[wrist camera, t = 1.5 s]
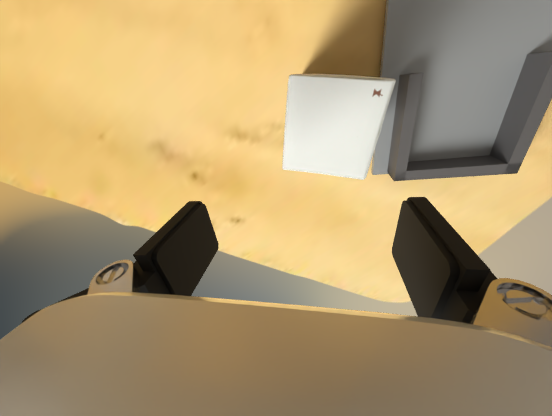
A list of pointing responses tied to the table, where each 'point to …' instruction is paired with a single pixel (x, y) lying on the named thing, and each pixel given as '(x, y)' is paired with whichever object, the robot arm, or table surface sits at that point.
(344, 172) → the supplement box
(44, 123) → the table surface
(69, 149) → the table surface
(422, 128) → the box holder
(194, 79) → the table surface
